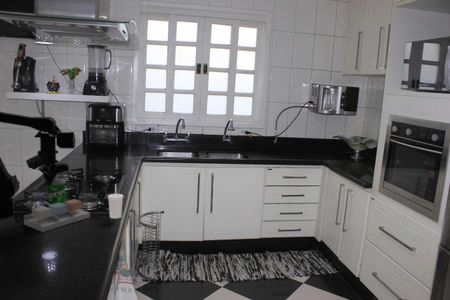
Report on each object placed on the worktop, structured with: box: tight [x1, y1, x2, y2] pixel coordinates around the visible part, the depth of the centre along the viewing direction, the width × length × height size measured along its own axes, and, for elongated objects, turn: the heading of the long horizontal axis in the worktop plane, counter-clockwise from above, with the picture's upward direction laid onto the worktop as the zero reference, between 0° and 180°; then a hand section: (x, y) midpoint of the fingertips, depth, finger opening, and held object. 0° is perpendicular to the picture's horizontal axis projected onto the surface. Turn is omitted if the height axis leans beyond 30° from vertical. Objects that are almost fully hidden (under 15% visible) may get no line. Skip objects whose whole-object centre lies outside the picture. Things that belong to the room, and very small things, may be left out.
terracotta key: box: [64, 198, 83, 211], centre depth 164 cm, size 5×5×3 cm
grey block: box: [31, 205, 51, 219], centre depth 152 cm, size 5×5×3 cm
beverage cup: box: [107, 183, 124, 219], centre depth 166 cm, size 6×6×14 cm
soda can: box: [46, 177, 67, 204], centre depth 176 cm, size 8×8×12 cm
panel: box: [23, 209, 91, 233], centre depth 159 cm, size 12×21×4 cm, turn 147°
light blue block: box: [48, 202, 67, 215], centre depth 158 cm, size 5×5×3 cm
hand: (49, 185), depth 165 cm, fingers closed
